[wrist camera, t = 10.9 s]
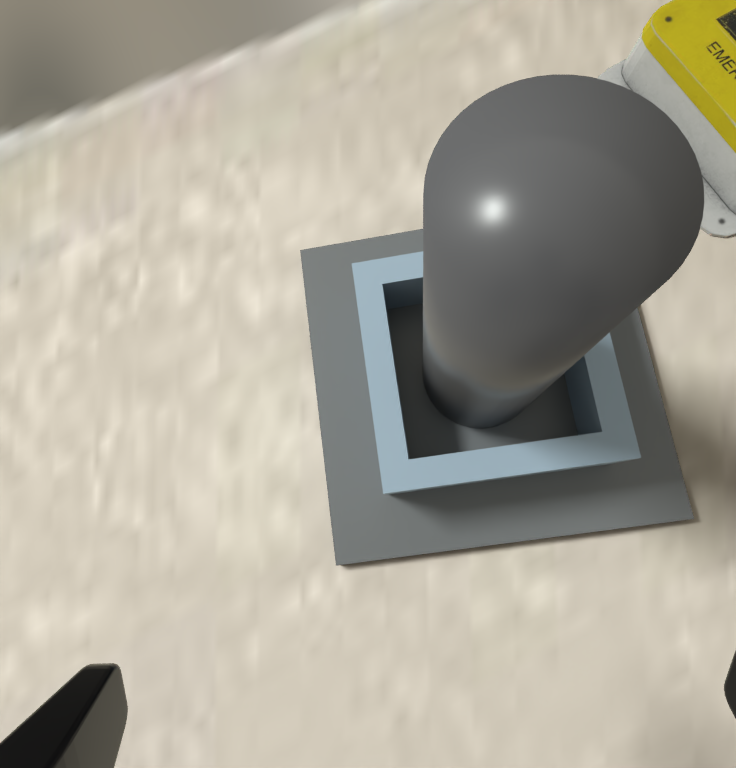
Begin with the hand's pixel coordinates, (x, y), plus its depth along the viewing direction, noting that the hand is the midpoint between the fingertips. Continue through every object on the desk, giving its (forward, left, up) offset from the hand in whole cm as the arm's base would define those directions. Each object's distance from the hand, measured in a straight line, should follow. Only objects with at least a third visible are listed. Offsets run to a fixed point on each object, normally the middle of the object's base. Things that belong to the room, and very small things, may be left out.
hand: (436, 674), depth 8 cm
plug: (+1, -8, -12) cm, 14 cm away
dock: (+1, -8, -12) cm, 15 cm away
